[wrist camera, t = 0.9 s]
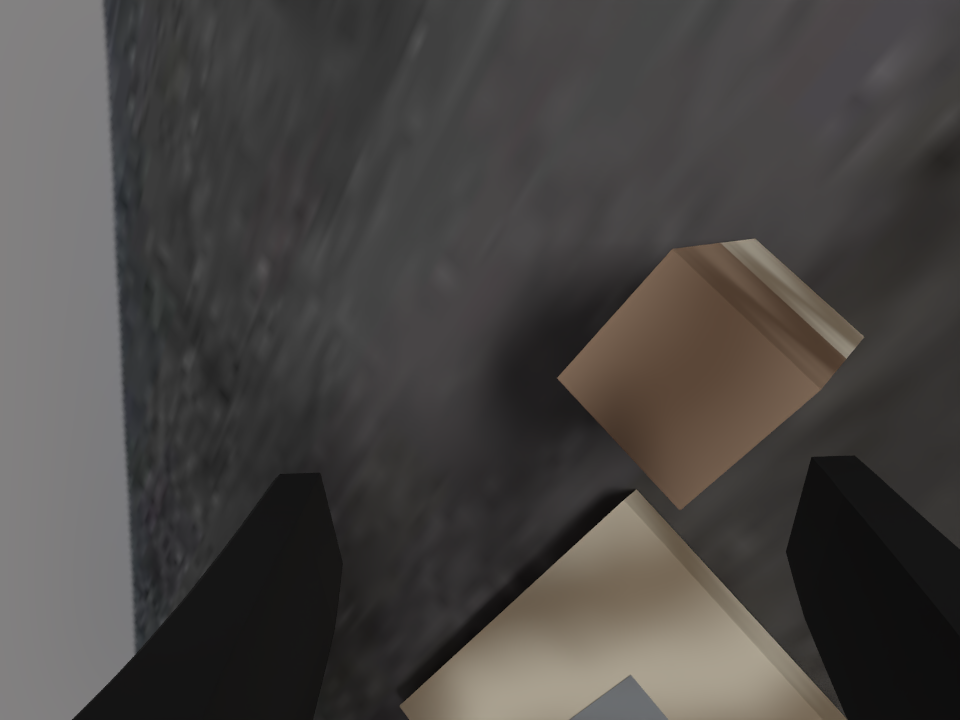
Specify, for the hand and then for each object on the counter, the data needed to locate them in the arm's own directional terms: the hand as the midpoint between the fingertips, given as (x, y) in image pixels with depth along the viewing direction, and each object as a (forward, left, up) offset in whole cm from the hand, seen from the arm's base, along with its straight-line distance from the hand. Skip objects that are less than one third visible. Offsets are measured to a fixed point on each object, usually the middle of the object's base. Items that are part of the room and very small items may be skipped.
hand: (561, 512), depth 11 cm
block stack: (+1, 0, -15) cm, 15 cm away
